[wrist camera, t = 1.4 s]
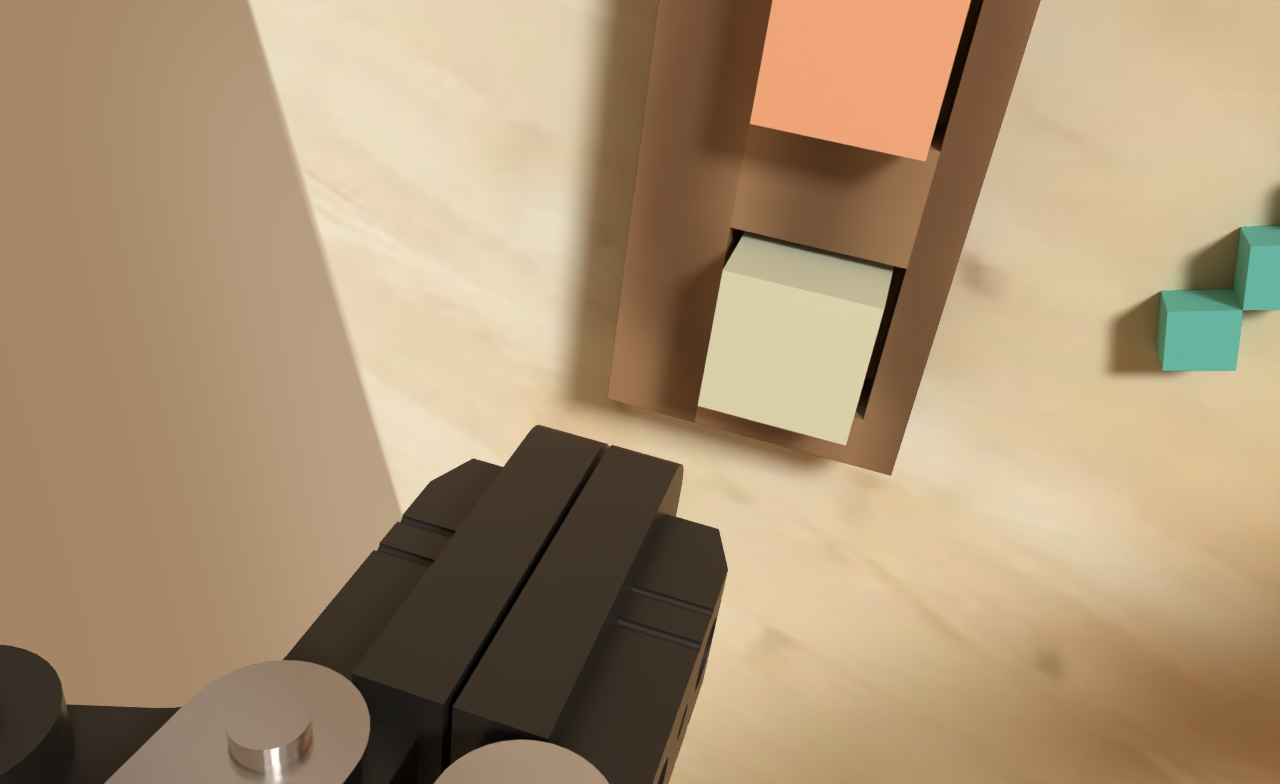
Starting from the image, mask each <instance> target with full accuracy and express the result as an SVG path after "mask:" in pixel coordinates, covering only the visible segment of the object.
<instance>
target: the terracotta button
mask: <svg viewBox="0 0 1280 784" xmlns="http://www.w3.org/2000/svg"><path fill="white" fill-rule="evenodd" d="M970 2H971V0H773V1H772V6H771V12H770V17H769V22H768V28H767V33H766V39H765V44H764V50H763V55H762V60H761V66H760V71H759V77H758V82H757V87H756V93H755V98H754V104H753V109H752V114H751V120H750V124H753V125H758V126H763V127H767V128H772V129H777V130H781V131H786V132H790V133H795V134H800V135H804V136H809V137H814V138H818V139H823V140H828V141H832V142H837V143H841V144H846V145H851V146H855V147H860V148H865V149H869V150H874V151H879V152H883V153H888V154H892V155H897V156H902V157H906V158H911V159H916V160H920V161H925V162H926V159H927V155H928V152H929V148H930V144H931V141H932V137H933V134H934V130H935V127H936V123H937V120H938V116H939V112H940V109H941V105H942V102H943V98H944V95H945V91H946V88H947V84H948V80H949V77H950V73H951V70H952V66H953V63H954V59H955V55H956V52H957V48H958V45H959V41H960V38H961V34H962V31H963V27H964V23H965V20H966V16H967V13H968V9H969V6H970Z"/></svg>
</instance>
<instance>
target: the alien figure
mask: <svg viewBox="0 0 1280 784" xmlns="http://www.w3.org/2000/svg"><path fill="white" fill-rule="evenodd" d="M1243 310H1280V225H1276V226H1252V227H1240V235H1239V244H1238V253H1237V262H1236V270H1235V279H1234V288H1233V289H1213V290H1172V291H1161V298H1160V310H1159V323H1158V335H1157V352H1158V356H1159V359H1160V363H1161V367H1162V371H1236V366H1237V357H1238V349H1239V341H1240V332H1241V324H1242V315H1243Z"/></svg>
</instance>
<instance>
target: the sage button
mask: <svg viewBox="0 0 1280 784" xmlns="http://www.w3.org/2000/svg"><path fill="white" fill-rule="evenodd" d="M893 269H894V266H892V265H888V264H884V263H879V262H875V261H871V260H867V259H862V258H858V257H854V256H850V255H845V254H841V253H837V252H833V251H828V250H824V249H820V248H816V247H811V246H807V245H803V244H799V243H794V242H790V241H786V240H782V239H777V238H773V237H769V236H765V235H760V234H756V233H752V232H748V231H745V233H744V235H743V236H742V238H741V240H740V241H739V243H738V245H737V247H736V248H735V250H734V252H733V253H732V255H731V257H730V259H729V260H728V262H727V264H726V265H725V267H724V269H723V272H722V277H721V282H720V288H719V293H718V299H717V304H716V309H715V315H714V320H713V326H712V331H711V336H710V342H709V347H708V353H707V358H706V364H705V369H704V374H703V380H702V385H701V391H700V396H699V401H698V406H700V407H704V408H708V409H711V410H715V411H719V412H723V413H726V414H730V415H734V416H738V417H741V418H745V419H749V420H752V421H756V422H760V423H764V424H767V425H771V426H775V427H778V428H782V429H786V430H790V431H793V432H797V433H801V434H805V435H808V436H812V437H816V438H819V439H823V440H827V441H831V442H834V443H838V444H842V445H845V446H846V443H847V440H848V436H849V433H850V429H851V426H852V422H853V419H854V415H855V411H856V408H857V404H858V401H859V397H860V394H861V390H862V387H863V383H864V379H865V376H866V372H867V369H868V365H869V362H870V358H871V355H872V351H873V347H874V344H875V340H876V337H877V333H878V330H879V326H880V322H881V319H882V315H883V312H884V308H885V304H886V299H887V295H888V291H889V286H890V282H891V277H892V273H893Z"/></svg>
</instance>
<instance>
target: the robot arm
mask: <svg viewBox="0 0 1280 784" xmlns="http://www.w3.org/2000/svg"><path fill="white" fill-rule="evenodd" d="M682 480H683V465H682V464H678V463H675V462H671V461H667V460H664V459H660V458H657V457H653V456H650V455H646V454H642V453H639V452H635V451H632V450H628V449H625V448H621V447H617V446H614V445H612V446H610V447H609V446H608V444H606V443H602V442H598V441H595V440H591V439H588V438H584V437H581V436H577V435H573V434H570V433H566V432H563V431H559V430H556V429H552V428H548V427H545V426H541V425H536V426H535V427H534V428H532V429H531V431H530V432H529V433H528V435H527V436H526V437H525V439H524V440H523V441H522V443H521V444H520V445H519V447H518V448H517V449H516V451H515V452H514V454H513V455H512V456H511V458H510V459H509V460H508V462H507V463H506V464H505V466H504V467H501V466H498V465H494V464H491V463H487V462H484V461H480V460H477V459H471V460H470V461H468V462H466V463H464V464H462V465H460V466H458V467H457V468H455V469H453V470H451V471H449V472H447V473H445V474H444V475H442V476H440V477H438V478H436V479H434V480H432V481H431V482H430V483H429V484H428V485H427V486H426V487H425V489H424V490H423V491H422V492H421V493H420V495H419V496H418V497H417V498H416V500H415V501H414V502H413V503H412V504H411V506H410V507H409V508H408V509H407V510H406V512H405V513H404V514H403V517H402V520H401V522H397V523H396V524H395V525H394V526H393V528H392V529H391V530H390V531H389V532H388V533H387V535H386V536H385V537H384V538H383V540H382V541H381V542H380V545H379V548H378V550H377V551H375V550H374V551H373V552H372V553H371V554H370V555H369V556H368V558H367V559H366V560H365V561H364V563H363V564H362V565H361V566H360V567H359V569H358V570H357V571H356V572H355V573H354V575H353V576H352V577H351V578H350V580H349V581H348V582H347V583H346V584H345V586H344V587H343V588H342V589H341V591H340V592H339V593H338V594H337V595H336V597H335V598H334V599H333V600H332V601H331V602H330V604H329V605H328V606H327V607H326V609H325V610H324V611H323V612H322V613H321V615H320V616H319V617H318V618H317V620H316V621H315V622H314V623H313V624H312V626H311V627H310V628H309V629H308V630H307V632H306V633H305V634H304V635H303V636H302V638H301V639H300V640H299V641H298V642H297V644H296V645H295V646H294V647H293V649H292V650H291V651H290V652H289V653H288V655H287V656H286V657H285V658H284V659H283V660H278V661H267V662H262V663H257V664H252V665H248V666H245V667H243V668H240V669H237V670H234V671H232V672H229V673H227V674H225V675H223V676H221V677H219V678H218V679H216V680H214V681H212V682H211V683H209V684H208V685H206V686H205V687H203V688H202V689H201V690H200V691H199V692H197V693H196V694H195V695H194V696H193V697H192V698H191V699H190V700H188V701H187V702H186V704H184V705H183V706H182V707H177V708H139V707H113V706H112V707H111V706H90V705H89V706H88V705H66V702H65V698H64V693H63V689H62V685H61V681H60V679H59V677H58V675H57V673H56V671H55V670H54V669H53V667H52V666H51V665H50V664H49V663H48V662H47V661H46V660H44V659H43V658H41V657H40V656H38V655H37V654H35V653H32V652H30V651H27V650H25V649H21V648H17V647H13V646H6V645H0V784H668V783H669V780H670V777H671V774H672V771H673V768H674V765H675V761H676V759H677V757H678V754H679V751H680V748H681V745H682V742H683V739H684V736H685V733H686V729H687V726H688V724H689V721H690V718H691V715H692V712H693V709H694V706H695V703H696V700H697V697H698V694H699V691H700V688H701V685H702V682H703V678H704V674H705V669H706V665H707V660H708V656H709V652H710V647H711V643H712V638H713V634H714V629H715V625H716V620H717V616H718V612H719V607H720V603H721V598H722V594H723V589H724V585H725V580H726V576H727V572H728V568H727V563H726V559H725V554H724V550H723V546H722V541H721V537H720V533H719V529H716V528H713V527H709V526H706V525H702V524H699V523H695V522H692V521H689V520H685V519H682V518H678V517H676V513H677V508H678V502H679V497H680V491H681V486H682Z"/></svg>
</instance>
